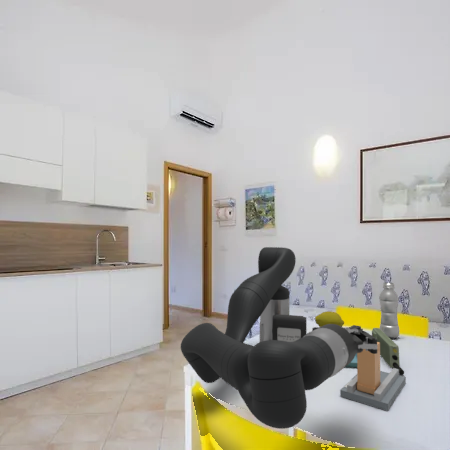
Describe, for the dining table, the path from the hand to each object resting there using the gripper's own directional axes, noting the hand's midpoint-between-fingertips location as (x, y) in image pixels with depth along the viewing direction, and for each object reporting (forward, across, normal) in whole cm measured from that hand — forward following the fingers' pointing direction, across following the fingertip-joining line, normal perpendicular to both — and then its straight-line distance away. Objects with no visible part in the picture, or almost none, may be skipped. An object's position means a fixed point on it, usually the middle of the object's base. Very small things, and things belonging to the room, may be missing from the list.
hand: (357, 330), depth 70 cm
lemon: (+55, -28, -16) cm, 64 cm away
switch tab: (+8, 0, -15) cm, 17 cm away
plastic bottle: (+63, -8, -16) cm, 65 cm away
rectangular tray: (+34, -16, -17) cm, 41 cm away
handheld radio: (+37, -3, -17) cm, 41 cm away
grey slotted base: (+13, 0, -16) cm, 21 cm away
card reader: (+9, -21, -17) cm, 28 cm away
